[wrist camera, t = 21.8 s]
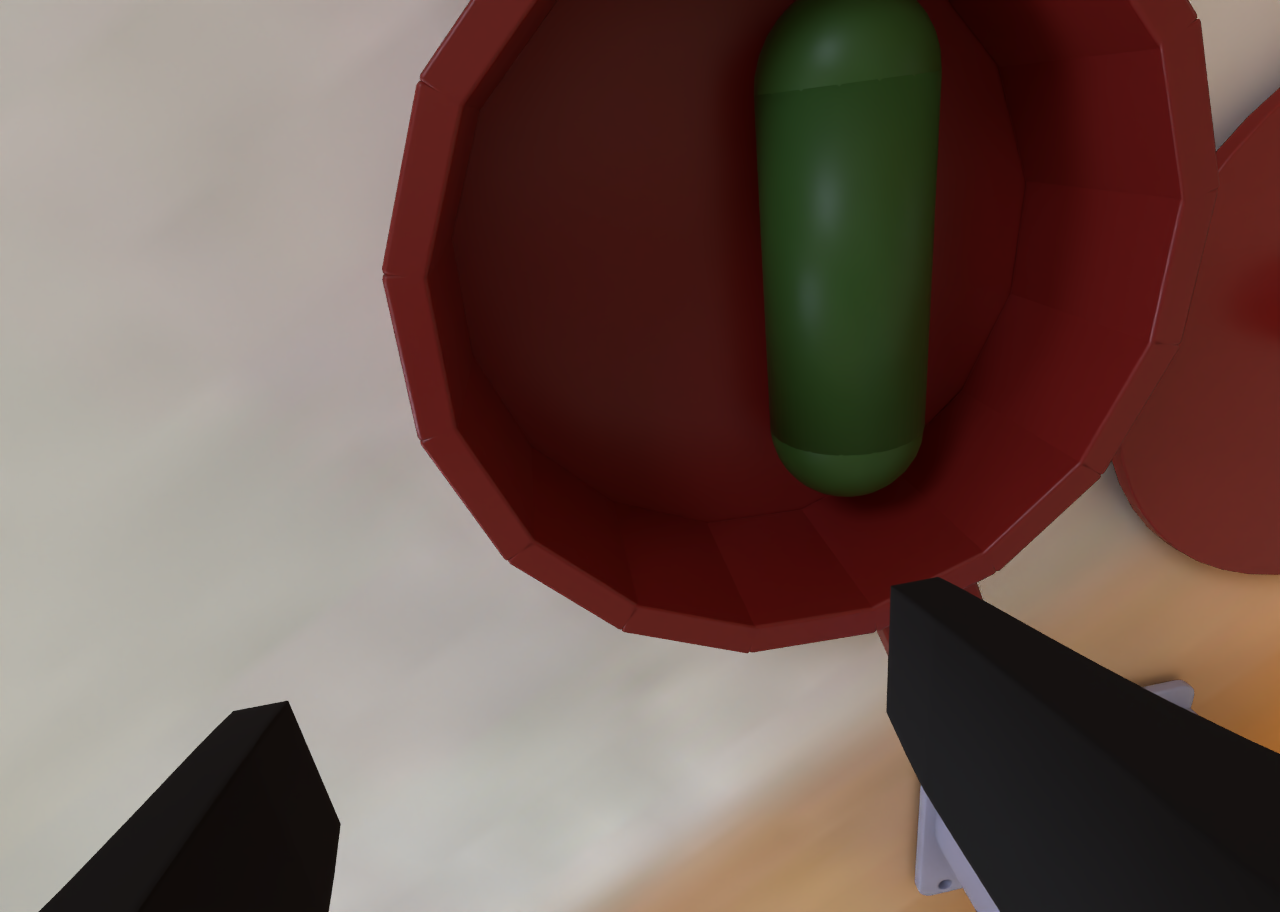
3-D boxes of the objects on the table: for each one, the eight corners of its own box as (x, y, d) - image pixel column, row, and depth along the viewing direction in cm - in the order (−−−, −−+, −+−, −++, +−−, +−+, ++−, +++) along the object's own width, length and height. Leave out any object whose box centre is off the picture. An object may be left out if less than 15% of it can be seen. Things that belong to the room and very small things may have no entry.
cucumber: (719, -10, 13) (930, -54, 11) (782, 0, 15) (959, -34, 14) (753, 512, 17) (906, 535, 15) (797, 450, 20) (932, 464, 18)
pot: (898, -468, 12) (1107, -795, 8) (1106, 453, 21) (1262, 542, 16) (183, -31, 13) (17, -107, 9) (658, 679, 22) (693, 819, 17)
